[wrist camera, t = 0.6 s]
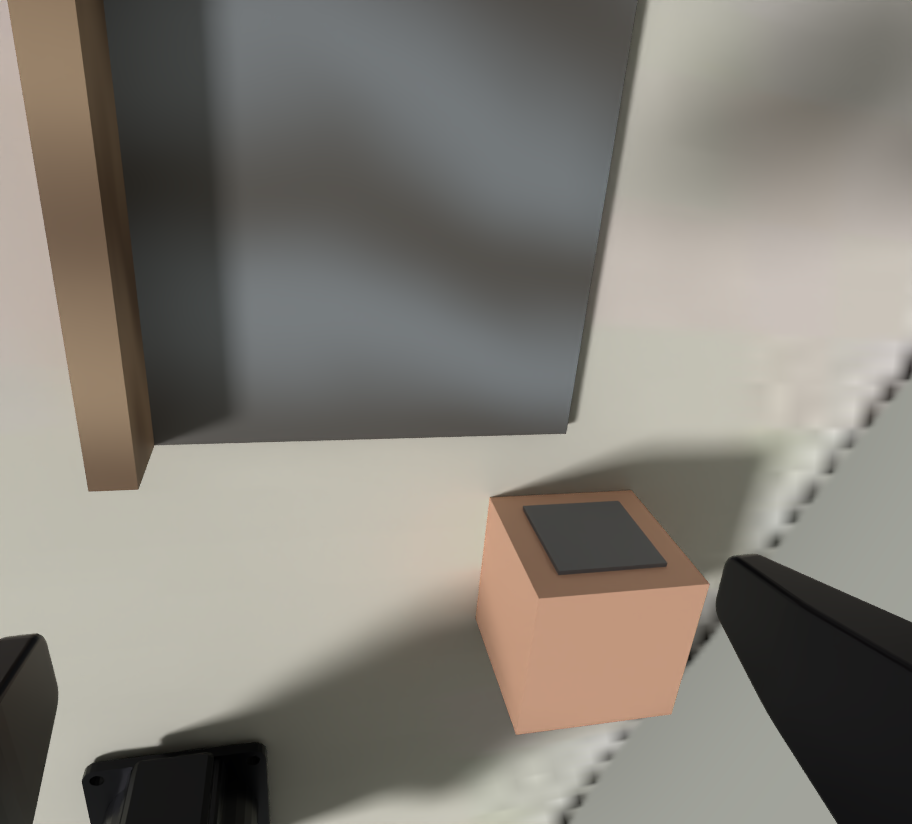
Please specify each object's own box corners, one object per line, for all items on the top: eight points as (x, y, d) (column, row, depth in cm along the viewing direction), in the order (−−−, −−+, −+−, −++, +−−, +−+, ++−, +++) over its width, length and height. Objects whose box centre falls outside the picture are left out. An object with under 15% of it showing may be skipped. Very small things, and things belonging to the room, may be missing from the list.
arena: (561, 427, 24) (595, 470, 21) (114, 438, 21) (88, 491, 18) (639, -64, 18) (701, -89, 15) (29, -157, 15) (-27, -210, 12)
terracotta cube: (605, 604, 28) (671, 714, 23) (474, 616, 27) (516, 734, 22) (631, 485, 26) (710, 580, 21) (489, 492, 24) (539, 594, 20)
